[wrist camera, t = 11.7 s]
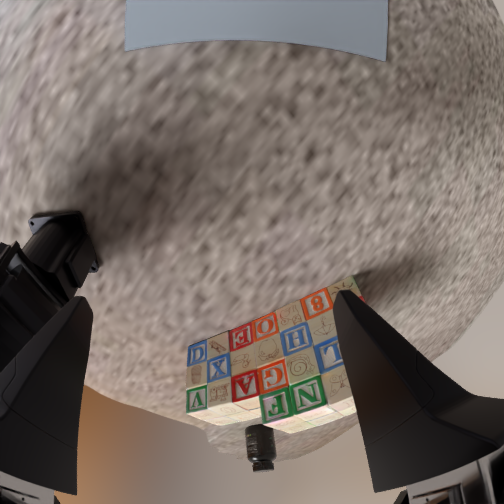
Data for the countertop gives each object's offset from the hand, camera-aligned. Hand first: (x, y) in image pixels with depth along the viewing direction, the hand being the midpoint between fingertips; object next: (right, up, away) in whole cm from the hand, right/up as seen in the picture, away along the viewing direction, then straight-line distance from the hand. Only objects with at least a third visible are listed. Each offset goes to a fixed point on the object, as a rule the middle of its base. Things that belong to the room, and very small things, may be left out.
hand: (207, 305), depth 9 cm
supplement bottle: (+3, -41, +49) cm, 64 cm away
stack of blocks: (+4, -7, +23) cm, 24 cm away
